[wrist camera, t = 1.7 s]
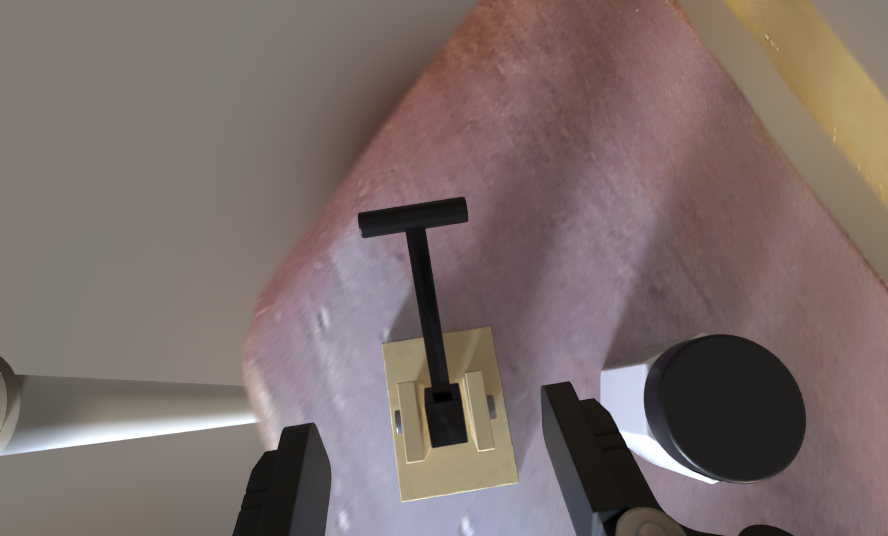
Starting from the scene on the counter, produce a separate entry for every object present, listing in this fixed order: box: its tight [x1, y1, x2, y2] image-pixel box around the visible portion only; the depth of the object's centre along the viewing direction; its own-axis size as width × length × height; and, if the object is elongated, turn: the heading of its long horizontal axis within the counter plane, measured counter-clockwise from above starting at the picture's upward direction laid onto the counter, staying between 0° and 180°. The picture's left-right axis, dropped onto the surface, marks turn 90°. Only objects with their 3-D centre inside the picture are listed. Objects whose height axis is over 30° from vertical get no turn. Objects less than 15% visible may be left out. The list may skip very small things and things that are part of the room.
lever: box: [358, 197, 468, 448], centre depth 28 cm, size 14×6×2 cm, turn 9°
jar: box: [601, 333, 806, 484], centre depth 32 cm, size 9×8×12 cm
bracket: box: [382, 326, 519, 502], centre depth 33 cm, size 12×9×12 cm
